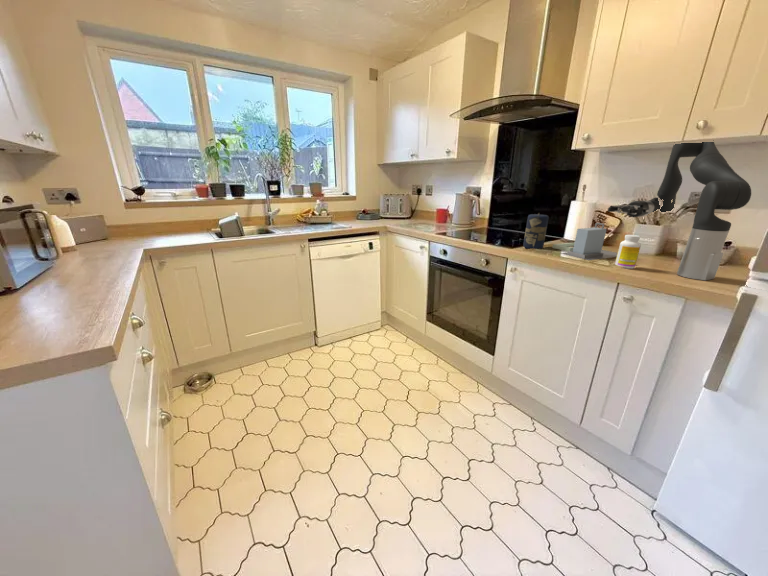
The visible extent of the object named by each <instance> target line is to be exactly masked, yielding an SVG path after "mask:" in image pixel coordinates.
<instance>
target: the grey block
mask: <svg viewBox="0 0 768 576" xmlns="http://www.w3.org/2000/svg"><path fill="white" fill-rule="evenodd" d="M598 225H601V227H598ZM604 227H605V223H601V222H596V223H595V224H594V227H585V228H582V227H581V228H577V230H576V234H575V238H574V242H575V243H574V242H573V243H574V246H573V247H574V248H573V252H575V253H579V254H584V255H585V254H594V253H601V250H603V247H604V246H603V245H604V241H605V237H606V233H607V229H608V228H604Z"/></svg>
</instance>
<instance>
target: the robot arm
mask: <svg viewBox="0 0 768 576" xmlns="http://www.w3.org/2000/svg"><path fill="white" fill-rule="evenodd" d="M680 158H693V160H692V161H691V162H690V164H689V171H690V174H691V176H692V177H693V178H694V180H695V181H697V182H698V183H700V184H702V185H704V187H703V189H702V191H701V193H700V196H699V200H698V204H697V208H696V211H695V215H694V217H693V224H692V227H691V230H690V234H689V236H688V238H687V239H688V240H687V241H686V242H687V243H686V245H685V247H684V248H685V249H684V251H683V254H682V257H681V260H680V263H679V266H678V269H677V272H676V275H678V276H680V277H684V278H689V279H691V280H692V279H693V280H699V281H709V280H714V279H715V277H716V276H717V275H716V274H717V272H718V271H719V270H718V269H719V266H720V265H721V261H722V259H723V257H724V252H722V251H723V248H724V245H725V243H726V240H727V238H728V236H729V233H730V231H731V230H730V229H731V227H732V223H731V222H730V221H728V220H726V219H722V218H719V217H718V216H717V215H716V214H715V211H716V210H723V211H725V210H728V211H730V210H731V211H732V210H738V209H742V208H743V207H745V206H746V205H747V204H748V203H749V202H750V200H751V198H752V187H751V185H750V184H749V182H748V181H747V180H746V179H744V178H743V177H741V176H740V175H739V174H738V173H737V172H736V171H735V170H734V169H733V168H732V167H731V166H730V165H729V163H728V161H727V160H726V159H725V157H724V156H723V155H722V153H721V152H720V151H719V150H718V148H717V147H716V143H715V141H714V142H702V143H681V144H675V145H674V144H673V146H672V148H671V153H670V155H669V158H668V163H667V164H666V165H667V166H666V170H665V174H664V177H663V179H662V182H661V184H660V187H659V188H658V191H657V193H656V196H657V197H653V198H651V199H649V200H646V199H645V200H634V201H633V200H632V201H631V202H629V203H628V204H625V205H623V204H622V205H620V204H618V205H609V206H608V207H607V212H608V213H612V212H613V213H614V212H615V213H618V214H626V215H627V216H628V217H630V218H639V217H646V216H649V215H648V214H650V213H651V212H654V211H656V210H657V209H660V205H659V201H658V198H660V199H661V200H662V199H663V200H664V201H663V206H662V207H661V209H660V211H661V212H666V211H671V210H672V209H673V208H674V209H675V207H674V204H675V205H676V199H677V194H678V192H679V189H680V188H681V186H682V183H683V175H682V172H681V170H680V168H679V160H680ZM672 199H673V202H672V203H671V200H672Z"/></svg>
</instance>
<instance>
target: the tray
mask: <svg viewBox="0 0 768 576" xmlns="http://www.w3.org/2000/svg"><path fill="white" fill-rule="evenodd" d="M574 243H575V241H574V242H565V243H554V244H552V249H557V250H561V251H564V252H567V251H573V248H574Z"/></svg>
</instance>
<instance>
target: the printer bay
mask: <svg viewBox="0 0 768 576" xmlns="http://www.w3.org/2000/svg"><path fill="white" fill-rule="evenodd" d="M560 254H561V255H566V256H570V257H573V258H578V259H582V260H586V261H593V260H601V259H609V258H616V257H617V254H618V252H615V251H612V250H604V249H602V250H601V253H594V254H585V255H584V254H579V253H575V252H573V251H566V252H561V253H560Z"/></svg>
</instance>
